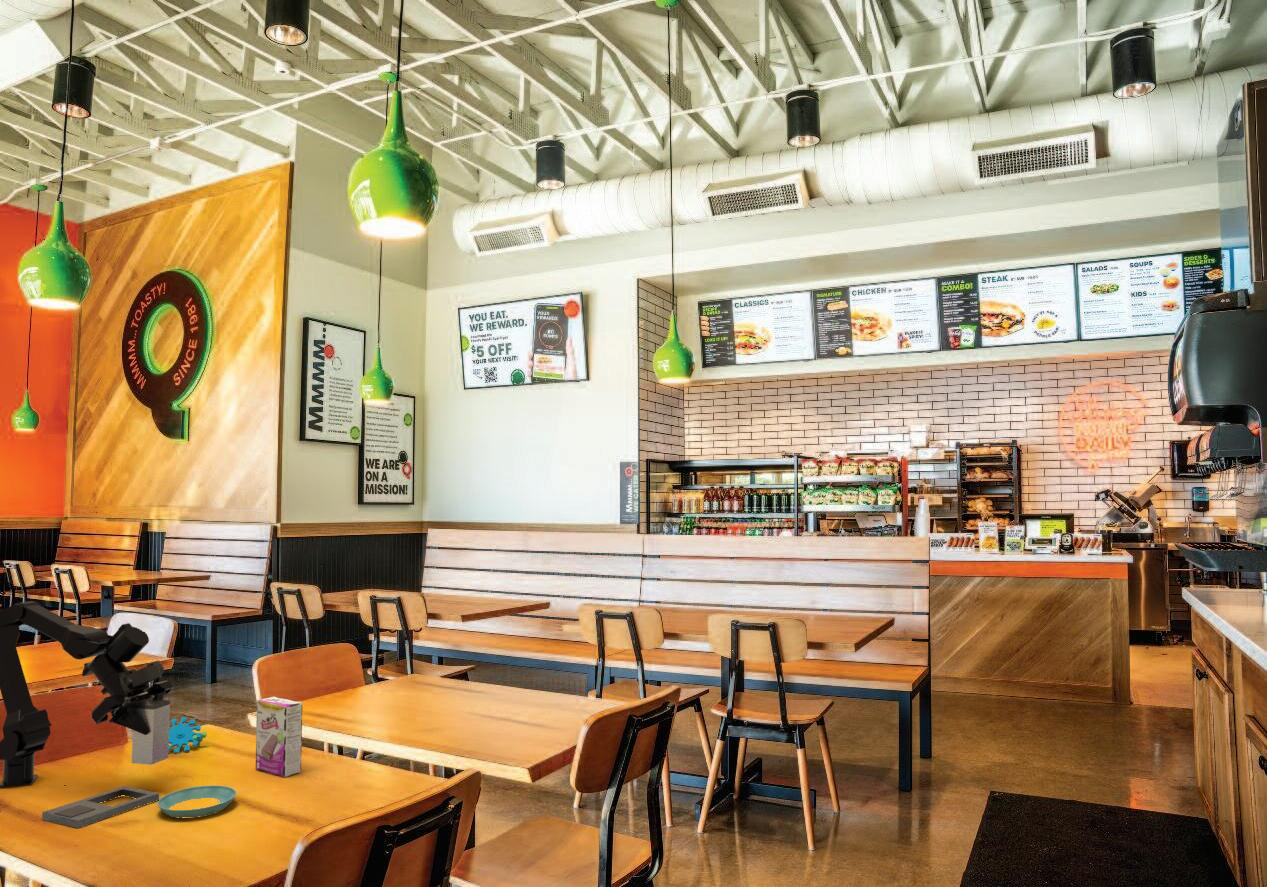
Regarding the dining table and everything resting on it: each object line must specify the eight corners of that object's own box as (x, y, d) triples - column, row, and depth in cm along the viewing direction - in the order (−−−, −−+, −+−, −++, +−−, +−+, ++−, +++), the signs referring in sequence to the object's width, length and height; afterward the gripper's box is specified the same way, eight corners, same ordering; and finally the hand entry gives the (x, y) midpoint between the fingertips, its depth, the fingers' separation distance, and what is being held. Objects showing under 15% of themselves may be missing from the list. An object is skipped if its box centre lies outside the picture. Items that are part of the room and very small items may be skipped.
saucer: (139, 817, 179) (140, 804, 179) (198, 794, 193) (198, 782, 193) (195, 827, 174) (196, 813, 174) (252, 802, 188) (252, 790, 188)
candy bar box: (253, 770, 209) (255, 699, 210) (272, 765, 213) (274, 695, 214) (283, 778, 203) (285, 705, 204) (302, 772, 207) (303, 701, 208)
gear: (153, 750, 219) (163, 714, 227) (153, 762, 223) (162, 727, 230) (202, 751, 223) (210, 716, 231) (201, 764, 227) (208, 729, 234)
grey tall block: (131, 763, 192) (133, 704, 192) (148, 756, 196) (150, 699, 197) (151, 764, 191) (154, 705, 191) (168, 757, 196) (170, 700, 196)
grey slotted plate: (42, 819, 177) (42, 811, 177) (124, 793, 193) (124, 785, 193) (77, 828, 172) (78, 820, 172) (159, 800, 188) (159, 792, 188)
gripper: (105, 659, 186) (149, 715, 184) (168, 644, 205) (208, 695, 202) (71, 695, 188) (114, 751, 185) (137, 677, 206) (177, 728, 203)
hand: (156, 730), depth 194 cm, fingers closed on grey tall block, 5 cm apart
